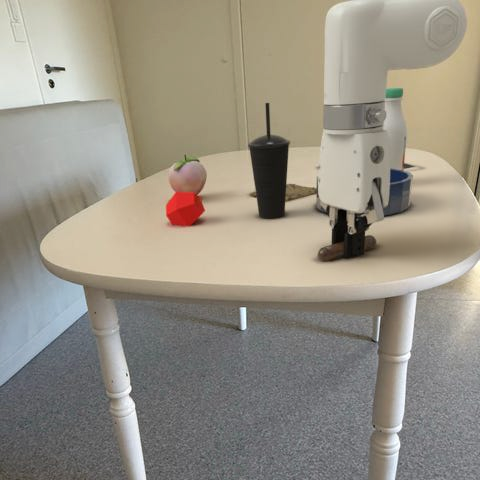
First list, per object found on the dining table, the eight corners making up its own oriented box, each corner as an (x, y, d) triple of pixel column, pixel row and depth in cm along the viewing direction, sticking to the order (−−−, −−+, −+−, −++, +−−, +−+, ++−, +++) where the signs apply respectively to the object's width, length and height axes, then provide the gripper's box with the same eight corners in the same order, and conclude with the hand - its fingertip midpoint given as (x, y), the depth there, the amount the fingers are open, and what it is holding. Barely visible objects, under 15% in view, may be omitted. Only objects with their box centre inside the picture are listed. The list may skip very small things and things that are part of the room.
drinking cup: (256, 224, 82) (249, 105, 73) (249, 214, 89) (242, 104, 80) (296, 220, 83) (294, 101, 74) (286, 210, 90) (283, 100, 80)
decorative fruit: (183, 194, 110) (177, 151, 105) (213, 195, 107) (209, 151, 102) (164, 204, 102) (157, 158, 97) (196, 205, 99) (190, 158, 94)
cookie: (287, 185, 109) (287, 181, 109) (323, 192, 100) (323, 188, 100) (248, 195, 103) (248, 191, 103) (282, 203, 94) (282, 198, 94)
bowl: (366, 192, 98) (367, 164, 95) (429, 208, 84) (433, 175, 81) (299, 207, 91) (298, 177, 89) (356, 226, 77) (357, 191, 75)
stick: (369, 246, 68) (370, 232, 67) (379, 250, 66) (380, 235, 65) (314, 261, 64) (314, 246, 63) (323, 265, 63) (323, 250, 62)
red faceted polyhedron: (152, 200, 82) (189, 183, 79) (168, 198, 88) (202, 182, 86) (167, 235, 84) (203, 220, 81) (181, 231, 90) (216, 217, 87)
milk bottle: (397, 191, 97) (407, 88, 87) (362, 190, 100) (367, 90, 91) (405, 184, 102) (415, 86, 93) (371, 182, 106) (377, 88, 96)
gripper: (424, 117, 52) (407, 265, 60) (337, 114, 65) (334, 237, 73) (374, 124, 49) (364, 279, 58) (293, 119, 62) (295, 246, 70)
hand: (347, 254), depth 65 cm, fingers closed on stick, 2 cm apart
